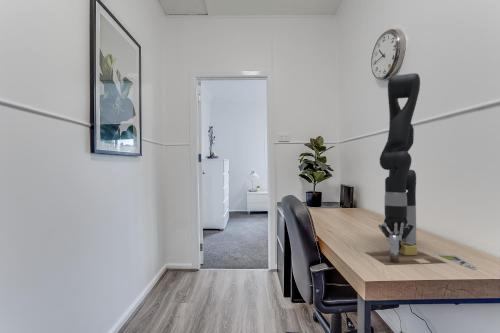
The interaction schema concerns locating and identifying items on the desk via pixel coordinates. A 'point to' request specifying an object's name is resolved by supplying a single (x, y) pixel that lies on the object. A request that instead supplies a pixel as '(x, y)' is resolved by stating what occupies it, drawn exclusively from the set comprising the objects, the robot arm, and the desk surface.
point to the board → (403, 258)
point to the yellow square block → (408, 249)
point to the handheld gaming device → (457, 260)
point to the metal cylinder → (394, 248)
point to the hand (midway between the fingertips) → (396, 249)
